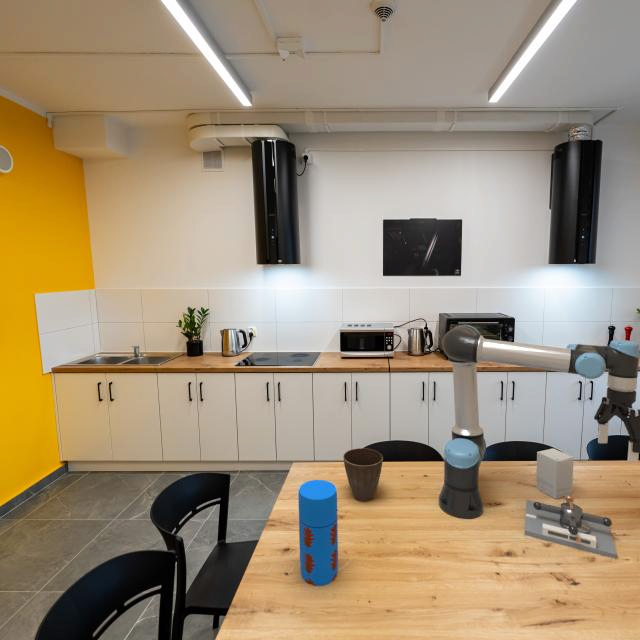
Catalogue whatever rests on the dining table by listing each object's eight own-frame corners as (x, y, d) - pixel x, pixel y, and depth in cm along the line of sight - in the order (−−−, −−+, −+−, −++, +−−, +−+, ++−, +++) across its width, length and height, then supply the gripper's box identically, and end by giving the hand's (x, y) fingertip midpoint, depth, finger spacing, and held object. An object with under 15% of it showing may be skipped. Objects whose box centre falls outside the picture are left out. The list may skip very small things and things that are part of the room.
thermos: (325, 592, 106) (323, 504, 103) (292, 576, 111) (290, 493, 109) (344, 566, 115) (343, 485, 112) (313, 553, 120) (312, 476, 118)
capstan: (532, 534, 125) (533, 515, 124) (533, 500, 143) (534, 483, 143) (616, 557, 114) (618, 536, 114) (606, 517, 133) (607, 498, 132)
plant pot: (338, 503, 147) (338, 462, 146) (350, 483, 161) (349, 445, 159) (378, 510, 142) (378, 468, 140) (386, 489, 156) (386, 451, 154)
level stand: (524, 535, 127) (524, 524, 127) (526, 503, 145) (526, 493, 144) (616, 560, 115) (617, 548, 115) (606, 521, 133) (607, 511, 133)
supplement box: (573, 494, 150) (575, 457, 148) (555, 499, 147) (557, 461, 145) (551, 483, 158) (553, 447, 157) (534, 487, 155) (536, 451, 154)
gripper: (666, 400, 114) (660, 470, 117) (606, 378, 139) (602, 436, 142) (640, 400, 115) (634, 470, 117) (584, 378, 139) (581, 436, 142)
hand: (616, 451), depth 129 cm, fingers open, 13 cm apart
